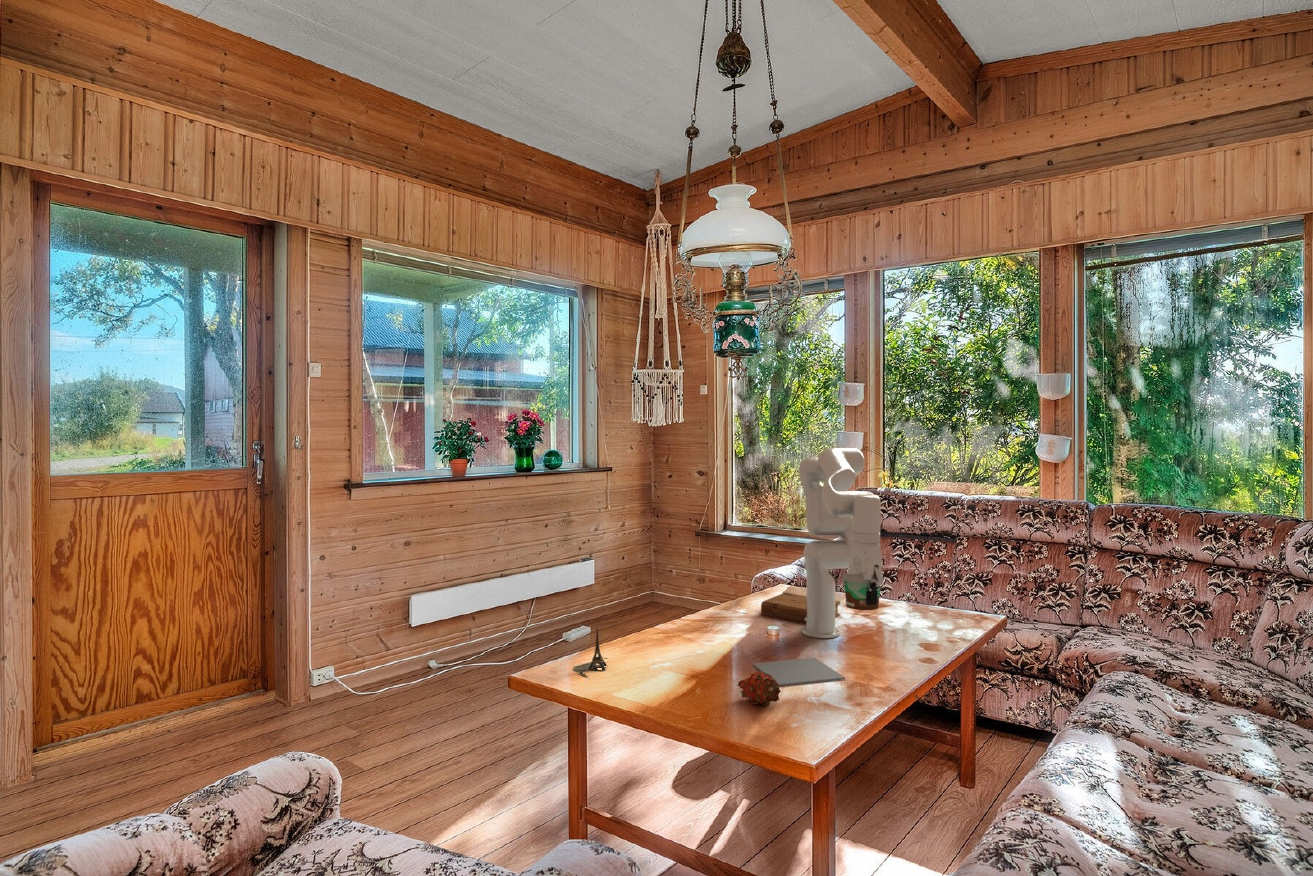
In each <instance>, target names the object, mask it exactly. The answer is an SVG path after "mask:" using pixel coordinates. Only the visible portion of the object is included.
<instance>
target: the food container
mask: <svg viewBox="0 0 1313 876" xmlns="http://www.w3.org/2000/svg"><path fill="white" fill-rule="evenodd" d="M881 577H882V580H883V581H884V576H883V574H882V576H881ZM871 579H875V577H872V578H871ZM841 580H842V581H843V582H844V583H843V584H844V592H845V593H844V594H845V605H846V608H848V609H852V610H857V611H875V610H877V609H879V606H880V605H879V604H880V595H881V594H880V593H881V585H882V584H881V585H880V587H879V590H878V591H877V604H876V605H867V604H866V591H868V588H867V583H869V581H864V580H863V578H862V575H855V574H850V573H849V572H848V573H847V572H843V574H842V579H841ZM873 583H875V581H873V582H871V585H872V584H873Z"/></svg>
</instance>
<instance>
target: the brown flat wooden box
mask: <svg viewBox="0 0 1313 876" xmlns="http://www.w3.org/2000/svg"><path fill="white" fill-rule="evenodd" d="M840 604H841V601H840V600H835V618H837V617H839V616H841V613H839V611H838V610H839V608H838V607H839V605H840ZM760 615H761V616H762V617H767V618H772V619H773V618H774V619H779V620H785V621H790V622H795V623H801V624H806V621H805V618H806V617H807V595H802V594H801V595H800V594H797V593H795V594H794V593H789V592H783V593H781V594H778V595H775V596H773V597H771V598H768V599H765V600H763V601H761V604H760Z"/></svg>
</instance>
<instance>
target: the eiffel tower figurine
mask: <svg viewBox="0 0 1313 876" xmlns="http://www.w3.org/2000/svg"><path fill="white" fill-rule="evenodd" d="M595 630H596V636H595V637H596V638H595V650H594V653H593V654H594V655H593V657H592V659H591V661H590V662H586V663H583V664H580V665H579V664H578V665H575V666H573V667H572V671H573V672H575V673H577V675H579V676H581V677H584V678H589V676H588V675H586V673H585V672H603V671H605V668H606V667H604V666H607V665H608V664H607V662H604V660H603V659H609V658H607V657H605V658H603V657H604V656H602V654H601V648H600V643H599V642H600V641H599V639H600V638H599V628H598V627H596V629H595ZM607 667H608V666H607ZM597 668H602V671H601V670H598V669H597ZM579 673H580V674H579ZM583 673H584V674H583Z"/></svg>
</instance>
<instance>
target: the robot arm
mask: <svg viewBox="0 0 1313 876" xmlns="http://www.w3.org/2000/svg"><path fill="white" fill-rule="evenodd" d="M865 460H866V459H865V456H864V454H863V452H862V451H861V450H860V449H858V448H857V447H829V448H826V449H823V450H822V451H821V452H819V454H818V456H810V457H806V458H803V459H802V460H801V461H800V463H799V465H798V474H799V475H798V476H799V477H798V478H799V481H800V484H801V487H802V489H803V492H804V496H805V498H804V499H805V512H806V513H805V514H806V527H807V531H808V533H809V535H811V536H815V537H838V538H839V539H838V540H837V539H833V540H832V539H831V540H830V539H827V540H825V539H819V540H811V541H809V542H808V543H806V544H805V546H804V549H803V556H804V558H803V559H804V563H805V565H804V566H805V570H806V571H805V572H806V596H807V617H806V618H805V621H806V623H805V626H803V627H802V628H801V633H802V634H803V635H805V636H807V637H811V638H814V639H815V638H817V639H832V638H833V639H834V638H837V637H839V636H840V635H841V632H840V629H838V628H837V627H836V617H835V601H836V581H835V578H834V577H833V576H832V574H831V573H829V570H833V569H848V574H855V575H862V578H863V580H864V581H869V583H867V588H868V591H866V604H867V605H876V604H877V591H878V590H879V587H880V588H881V586H880V585H882V584H883V583H884V579H883V580H882V577H881V576H882V575H883V573H882V572H883V563H882V561H883V560H882V551H881V509H882V508H881V505H882V504H881V502H882V501H881V498H880V497H879V495H876V494H874V493H873V492H871V491H867V490H849V489H851V487H853V486H854V484H855V482H856V478H857V477H858V476H859V475H860V474H861V473H862V472H863V471H864V468H865V466H866V464H865V462H866V461H865ZM823 482H824V483H823ZM872 577H875V579H871V578H872ZM873 581H875V583H873V584H872V585H871V582H873Z"/></svg>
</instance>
